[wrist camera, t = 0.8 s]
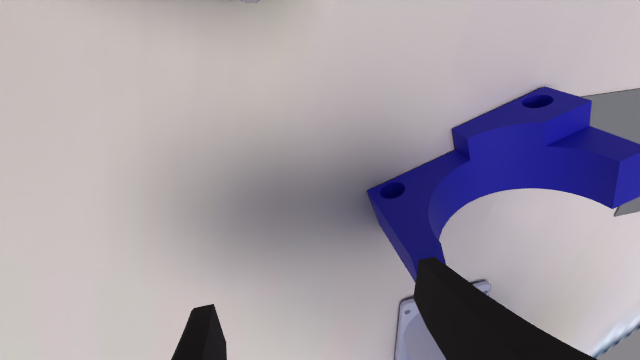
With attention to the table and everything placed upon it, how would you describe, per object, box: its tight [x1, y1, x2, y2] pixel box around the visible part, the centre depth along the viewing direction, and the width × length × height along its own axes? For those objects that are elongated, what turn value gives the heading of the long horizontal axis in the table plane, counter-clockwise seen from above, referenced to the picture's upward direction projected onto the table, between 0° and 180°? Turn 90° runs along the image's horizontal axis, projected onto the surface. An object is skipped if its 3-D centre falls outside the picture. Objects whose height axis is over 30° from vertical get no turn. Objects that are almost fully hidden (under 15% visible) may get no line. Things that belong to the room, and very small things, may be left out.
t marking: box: [582, 89, 640, 217], centre depth 22 cm, size 16×17×1 cm
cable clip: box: [367, 87, 640, 283], centre depth 18 cm, size 12×4×6 cm, turn 112°
